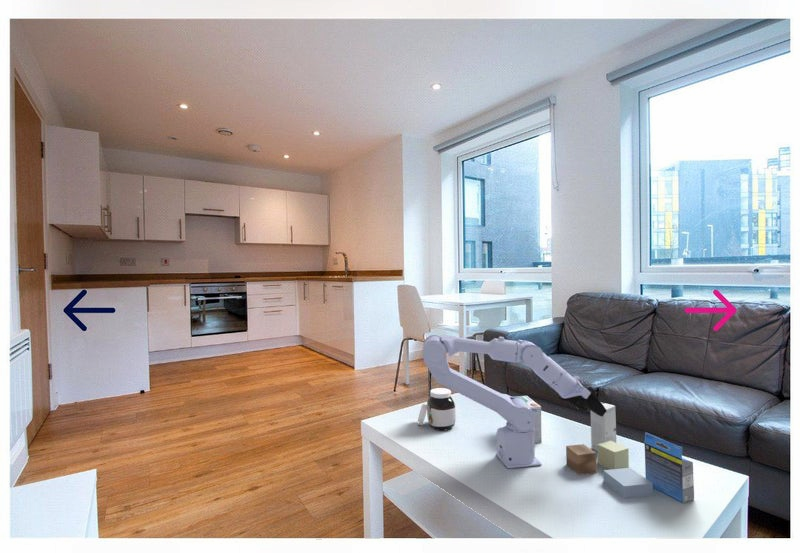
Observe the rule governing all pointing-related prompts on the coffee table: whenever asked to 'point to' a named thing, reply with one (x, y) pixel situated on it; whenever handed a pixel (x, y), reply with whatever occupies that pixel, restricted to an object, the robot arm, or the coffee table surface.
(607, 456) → the olive cube
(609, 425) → the skincare box
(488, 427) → the coffee table surface
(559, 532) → the coffee table surface
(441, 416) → the spread jar
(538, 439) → the light bulb box
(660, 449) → the label tape box
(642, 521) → the coffee table surface
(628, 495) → the base slab
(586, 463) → the walnut cube
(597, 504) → the coffee table surface
